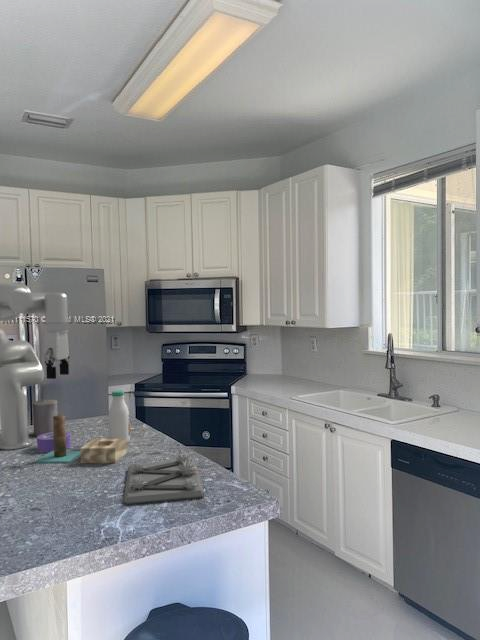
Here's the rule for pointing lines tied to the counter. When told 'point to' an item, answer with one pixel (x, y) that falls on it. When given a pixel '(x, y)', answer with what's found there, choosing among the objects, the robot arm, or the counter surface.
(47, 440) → the tape roll
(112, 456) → the eye block
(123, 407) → the milk bottle
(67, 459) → the teal mat
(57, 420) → the walnut peg
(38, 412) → the pillar candle
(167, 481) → the decorative plate
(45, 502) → the counter surface
